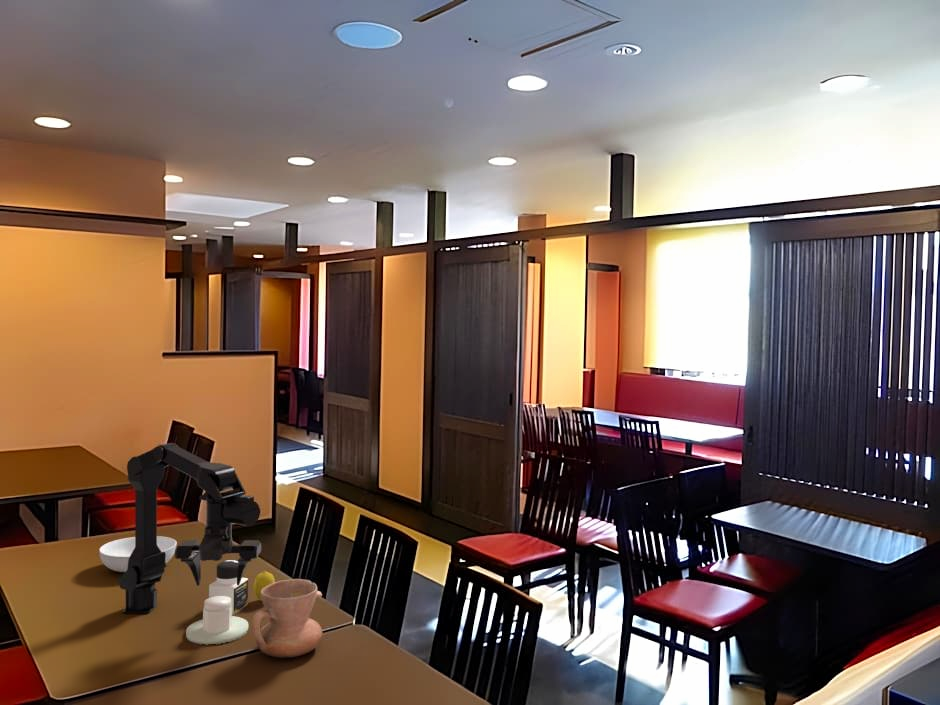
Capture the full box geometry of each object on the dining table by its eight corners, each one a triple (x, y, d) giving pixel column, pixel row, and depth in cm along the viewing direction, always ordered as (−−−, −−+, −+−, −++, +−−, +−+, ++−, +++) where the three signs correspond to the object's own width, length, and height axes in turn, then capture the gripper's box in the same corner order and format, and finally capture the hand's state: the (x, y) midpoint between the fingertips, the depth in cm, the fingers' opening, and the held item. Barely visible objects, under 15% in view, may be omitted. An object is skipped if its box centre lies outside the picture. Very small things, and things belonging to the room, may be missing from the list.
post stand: (177, 645, 164) (177, 621, 163) (196, 619, 178) (196, 597, 177) (240, 644, 165) (240, 620, 165) (254, 619, 179) (254, 597, 178)
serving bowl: (191, 565, 217) (191, 543, 216) (125, 586, 199) (126, 561, 199) (149, 552, 228) (149, 530, 227) (84, 570, 210) (84, 547, 210)
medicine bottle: (234, 615, 181) (234, 568, 180) (208, 612, 182) (208, 565, 182) (248, 604, 188) (248, 559, 187) (223, 602, 189) (223, 557, 189)
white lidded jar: (200, 633, 168) (200, 605, 168) (208, 622, 174) (208, 595, 174) (227, 633, 168) (227, 605, 168) (233, 622, 174) (234, 595, 174)
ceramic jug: (302, 628, 174) (301, 570, 174) (339, 646, 165) (339, 585, 164) (234, 654, 161) (233, 591, 160) (270, 675, 151) (270, 609, 151)
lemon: (279, 598, 192) (279, 569, 192) (267, 606, 187) (267, 575, 187) (261, 595, 194) (262, 566, 194) (249, 603, 189) (249, 573, 189)
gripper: (166, 529, 161) (166, 598, 162) (251, 529, 163) (250, 597, 163) (182, 516, 172) (182, 580, 173) (262, 516, 174) (261, 580, 174)
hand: (218, 585), depth 171 cm, fingers open, 9 cm apart
